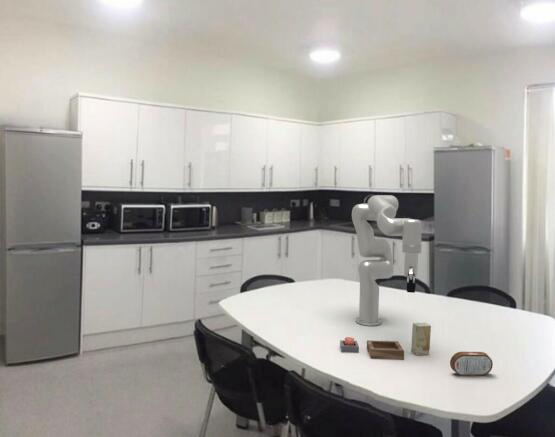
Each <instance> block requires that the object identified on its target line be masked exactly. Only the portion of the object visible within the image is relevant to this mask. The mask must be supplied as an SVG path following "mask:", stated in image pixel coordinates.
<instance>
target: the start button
mask: <svg viewBox="0 0 555 437" xmlns="http://www.w3.org/2000/svg"><path fill="white" fill-rule="evenodd" d="M344 340H345V345H347V346H354V341H355V338H354V337H351V336H346V337H345V338H344Z"/></svg>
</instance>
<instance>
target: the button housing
mask: <svg viewBox="0 0 555 437" xmlns="http://www.w3.org/2000/svg"><path fill="white" fill-rule="evenodd" d="M339 348H340V349H341V351H340V352H341V353H355V354H358V353H359V351H360V345H359V342H358V340H354V346H347V345H345V339H344V340H341V339H340V340H339Z"/></svg>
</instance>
